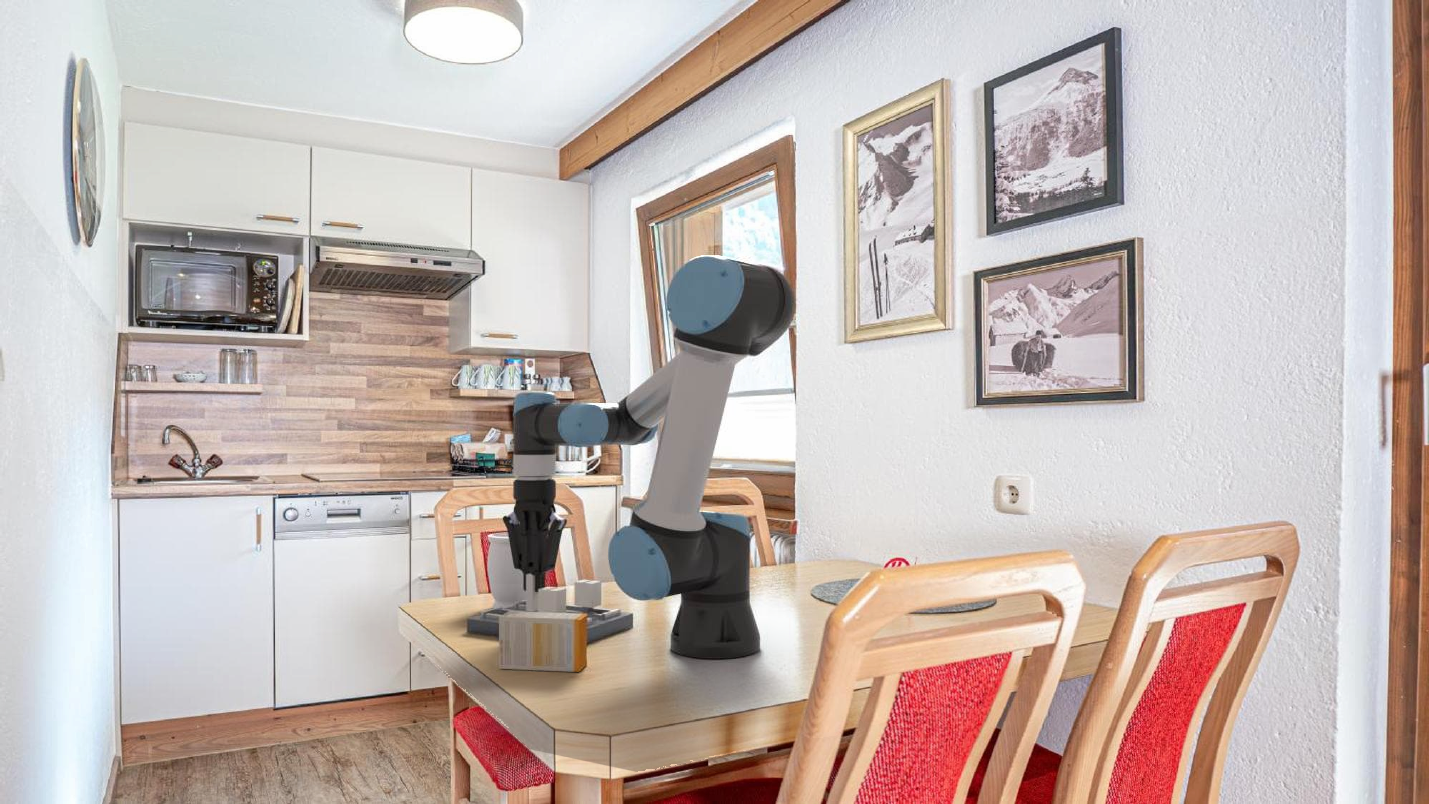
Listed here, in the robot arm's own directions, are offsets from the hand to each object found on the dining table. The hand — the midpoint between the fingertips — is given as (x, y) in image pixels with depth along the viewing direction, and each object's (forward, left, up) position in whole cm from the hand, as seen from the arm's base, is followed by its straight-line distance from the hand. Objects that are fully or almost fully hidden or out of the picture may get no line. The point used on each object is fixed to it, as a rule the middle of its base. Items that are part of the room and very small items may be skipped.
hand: (534, 609), depth 167 cm
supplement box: (-22, +14, 0) cm, 26 cm away
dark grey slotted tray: (0, -5, -4) cm, 6 cm away
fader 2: (-5, -9, -2) cm, 11 cm away
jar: (+19, -17, -5) cm, 25 cm away
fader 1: (-4, 0, -2) cm, 4 cm away
